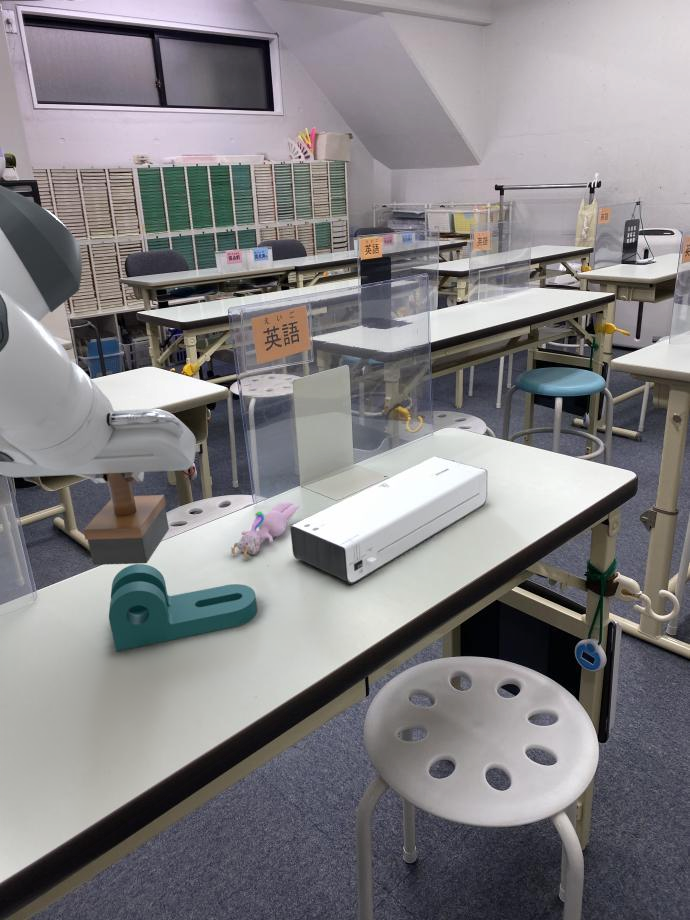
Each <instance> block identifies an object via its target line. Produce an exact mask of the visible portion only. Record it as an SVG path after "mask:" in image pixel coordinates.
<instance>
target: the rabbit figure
mask: <svg viewBox="0 0 690 920" xmlns="http://www.w3.org/2000/svg"><path fill="white" fill-rule="evenodd" d="M300 506H301V505H300V504H294V505H293V503H292V502H280V503H278V504H276V505H275V506H273V508H272V509H271V510H270V511H267V512H266V513H265V514H264V513H263V511H257V512H255V514H254V516H255V518H254V520H253V522H252V525H251V528H250V530H243V531H242V532H241V533H240V534H241V535H242V536H241V538H240V540H238V542H234V544H233V547H232V546H231V547H230V548H231V554H230V555H231V556H232V555H233V556H237V554H236V552H235V549H236V548H237V549H238V550H239V551H240V552H242V553H243V556H242V558H243V559H244V558H245V560H246V562H247V560H248V559H249V557H248V554H249V555H256V554H257V553H258V552H259V550H260V548H261V544H262V543H264V542H265V541H266V539H268V540H269V543H273V542H274V539H273V538H276V537H279V536H281V535H282V534H283V533H284V532H285V530H286V526H287V523H288V521H289V520H290V519H291V518H292V517H293V516H294V514H295V513H296V511H297V510H298V509H299V507H300ZM257 528H258V529H257ZM247 553H248V554H247Z"/></svg>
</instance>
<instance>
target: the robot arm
mask: <svg viewBox="0 0 690 920" xmlns="http://www.w3.org/2000/svg"><path fill="white" fill-rule="evenodd" d="M82 272H83V256H82V249H81V245H80V243H79V242H78V240H77V238H76V237H75V236H74V235H73V233H72V232H71V230H69V229H68V227H67V226H66V225H65V224H64V223H63V222H62V221H61V220H60V219H59V218H58V217H57V216H55V215H54V214H53V213H52V212H50V211H49V210H48V209H46V208H44V207H43V206H41V205H40V204H38V203H36V201H33V200H32V199H29V198H28V197H26V196H24V195H23V194H20V193H18V192H16V191H14V190H12V189H9V188H7V187H5V186H3V185H1V184H0V475H1V476H5V477H9V478H10V477H11V478H32V477H35V478H36V477H55V476H57V477H58V476H59V477H60V476H78V477H81V478H84V479H88V480H89V479H90V480H91V481H92V482H93V483H95V484H108V482H107V477H106V473H125V474H124V478H125V479H127V480H128V481H129V482H131V483H134V482H135V483H138V482H144V478H145V473H150V472H174V471H187V470H189V469H190V468H191V467H193V465H194V464H195V457H196V451H197V439H196V437H195V435H194V432H193V431H191V430H190V428H189V427H188V426H187V425H186V424H185V423H184V422H182V421H181V420H180V419H179V418H178V417H176V416H175V415H174V414H172V413H171V412H169V411H166V410H163V409H158V408H147V409H146V408H143V409H123V410H121V409H120V410H114V407H113V405H112V403H111V401H110V399H109V398H108V397H107V396H106V395H105V393H103V391H102V390H101V388H99V386H98V385H97V384H96V383H95V381H94V380H92V378H91V377H90V376H89V374H88V373H86V371H85V370H84V369H83V368H82V367H80V366H79V365H78V364H77V363H75V362H73V361H72V360H71V358H70V355H69V354H68V352H67V350H66V349H65V347H64V346H63V345H62V343H61V342H60V341H59V340H58V339H57V338H56V337H55V335H54V334H53V333H52V332H51V331H50V330H49V329H48V328H47V327H46V326H45V325H44V324H43V323H42V322H41V321H42V320H43V319H44V318H45V317H46V316H47V315H48V314H49V313H53V312H54V311H55V310H56V309H58V308H59V307H60V306H62V305H63V304H64V303H65V302H67V301H68V300H69V299H70V298H71V297H73V296H74V295H75V294H77V293H78V292H79V291H80V288H81V283H82V275H83V273H82Z"/></svg>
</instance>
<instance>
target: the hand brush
mask: <svg viewBox="0 0 690 920" xmlns="http://www.w3.org/2000/svg"><path fill="white" fill-rule="evenodd" d="M124 474H125V473H106V477H107V482H108V483H107V486H108V491H109V495H110V500H109V501H108V502H107V503H106V504H105V505H104V507H102V508H101V509H100V511H99V512H98V513H97V514H96V515H95V516H94V517H93V519H91V520H90V522H89V523H88V524H87V525H86V526H85V527H84V528H83V530H82V531H83V535H84V539H85V540H86V541H87V544H88V548H89V553H90V557H91V560H92V565H94V566H101V565H102V566H104V565H135V564H148V562H149V561H150V559H151V558H152V556H153V554H154V553H155V552H156V550H157V549H158V547H159V545H160V544H161V542H162V541H163V539H164V538H165V537H166V534H168V532H169V530H170V528H169V522H168V515H167V511H166V505H167V502H166V496H165V495H164V494H155V495H153V494H151V495H150V494H149V495H135V494H134V488H133V485H132V483H133V482H129V481H128V480H127V479H125V478H124Z"/></svg>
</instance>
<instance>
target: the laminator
mask: <svg viewBox="0 0 690 920" xmlns="http://www.w3.org/2000/svg"><path fill="white" fill-rule="evenodd" d="M487 497H488V470H487V469H485V468H481V467H478V466H474V465H470V464H466V463H462V462H459V461H455V460H451V459H447V458H443V457H440V456H436V455H435V456H433V457H431V458H429V459H427V460H424V461H423V462H420V463H419V464H417V465H414V466H412V467H410V468H408V469H406V470H403V471H402V472H400V473H398V474H396V475H394V476H392V477H390V478H388V479H386V480H383V481H381V482H379V483H377V484H375V485H373V486H371V487H369V488H366V489H365V490H362V491H361V492H358V493H356V494H354V495H353V496H350V497H348V498H346V499H344V500H341V501H340V502H338V503H336V504H334V505H332V506H329V507H328V508H326V509H324V510H321V511H319V512H318V513H315V514H313V515H311V516H309V517H307V518H305V519H303V520H300V521H298V522H297V523H294V524H293V525H291V526H290V528H289V530H290V540H291V549H292V555H293V557H294V558H295V560H299V561H302V562H305V563H306V564H309V565H311V566H313V567H314V568H316V569H319V570H321V571H323V572H325V573H327V574H330V575H332V576H334V577H336V578H338V579H340V580H342V581H345V582H346V583H348V584H349V585H353V584H355V583H357V582H359V581H361V580H363V579H364V578H366V577H367V576H369V575H371V574H372V573H374V572H376V571H377V570H379V569H381V568H382V567H384V566H386V565H388V564H389V563H391V562H392V561H394V560H396V559H398V558H399V557H401V556H403V555H404V554H405V553H407V552H409V551H410V550H413V549H414V548H416V547H418V546H419V545H422V543H424V542H426V541H427V540H429V539H430V538H432V537H434V536H435V535H438V534H439V533H441V532H443V531H444V530H446V529H447V528H449V527H450V526H452V525H454V524H456V523H457V522H459V521H461V520H462V519H464V518H465V517H467V516H469V515H470V514H472V513H473V512H475V511H477V510H478V509H480V508H482V507H484V505H485V504H486V503H487V502H486V501H487V499H488V498H487Z"/></svg>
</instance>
